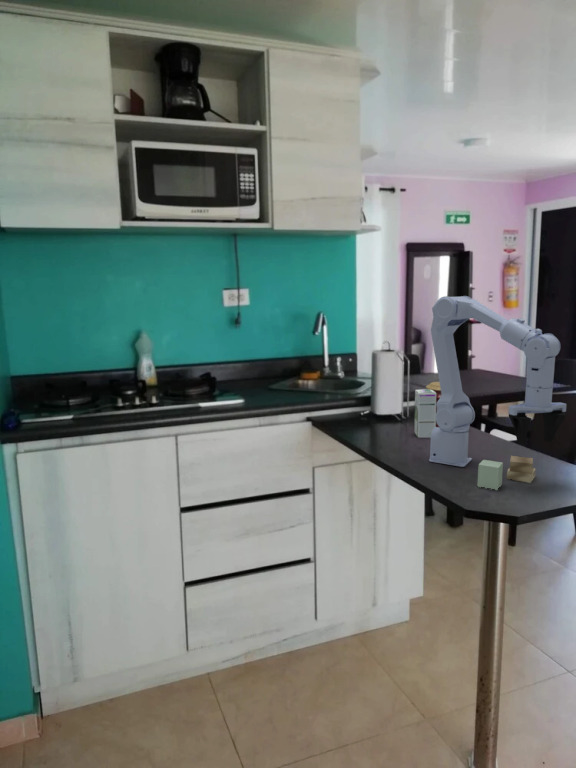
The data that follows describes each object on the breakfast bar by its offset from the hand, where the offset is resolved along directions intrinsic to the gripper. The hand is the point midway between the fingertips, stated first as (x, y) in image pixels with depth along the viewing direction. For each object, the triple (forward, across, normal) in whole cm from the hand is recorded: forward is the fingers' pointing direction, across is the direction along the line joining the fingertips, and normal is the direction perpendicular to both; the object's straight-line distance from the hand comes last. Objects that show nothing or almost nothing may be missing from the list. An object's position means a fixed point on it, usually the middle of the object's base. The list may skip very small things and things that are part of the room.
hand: (534, 442), depth 133 cm
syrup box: (+10, -3, +46) cm, 48 cm away
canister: (+10, +6, +52) cm, 54 cm away
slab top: (+8, 0, +4) cm, 9 cm away
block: (+10, -11, +1) cm, 15 cm away
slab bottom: (+10, 0, +4) cm, 11 cm away
